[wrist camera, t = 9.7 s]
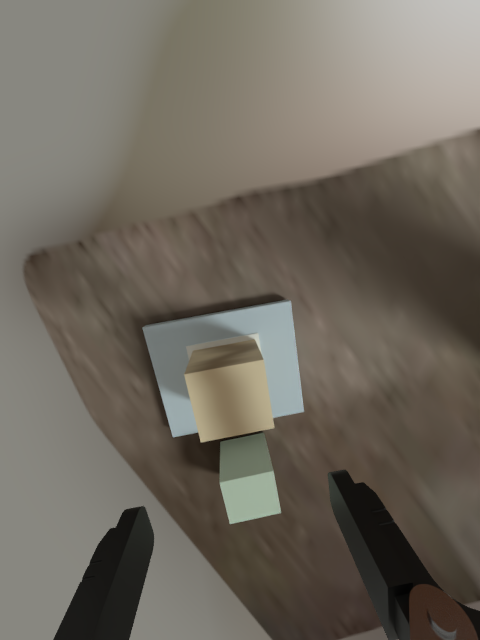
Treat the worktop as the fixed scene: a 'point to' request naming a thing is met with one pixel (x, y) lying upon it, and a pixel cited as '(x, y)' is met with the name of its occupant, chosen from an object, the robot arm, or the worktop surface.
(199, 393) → the maple block
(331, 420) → the worktop surface
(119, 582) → the robot arm
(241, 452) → the sage block
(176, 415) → the board
